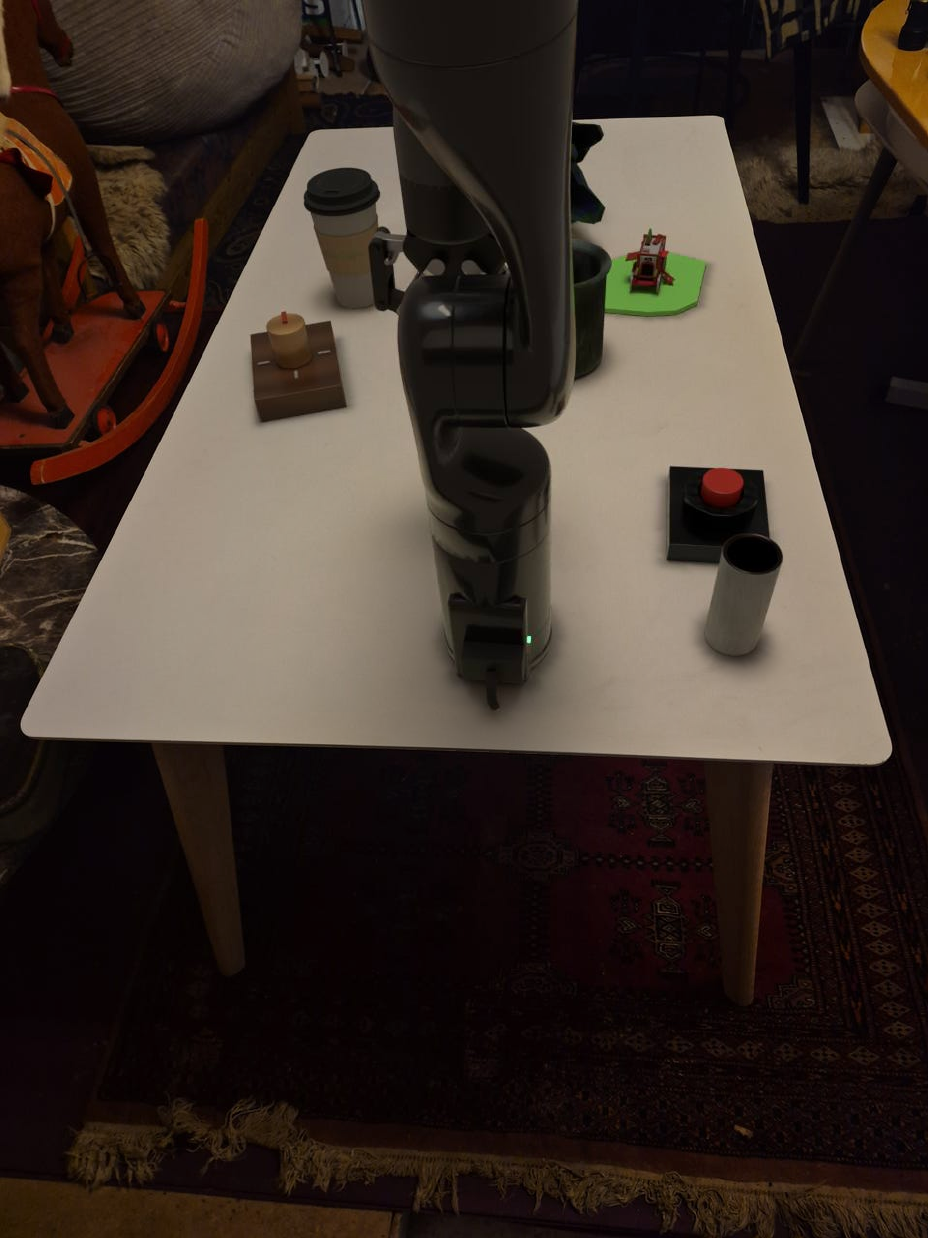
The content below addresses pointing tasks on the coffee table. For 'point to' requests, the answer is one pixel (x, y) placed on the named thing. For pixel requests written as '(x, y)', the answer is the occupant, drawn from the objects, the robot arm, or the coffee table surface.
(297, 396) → the panel
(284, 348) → the knob
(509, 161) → the robot arm
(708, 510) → the button block
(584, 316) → the mug
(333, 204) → the coffee cup
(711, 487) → the button
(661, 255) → the toy diorama
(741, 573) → the planter
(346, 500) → the coffee table surface
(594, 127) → the decorative plant
